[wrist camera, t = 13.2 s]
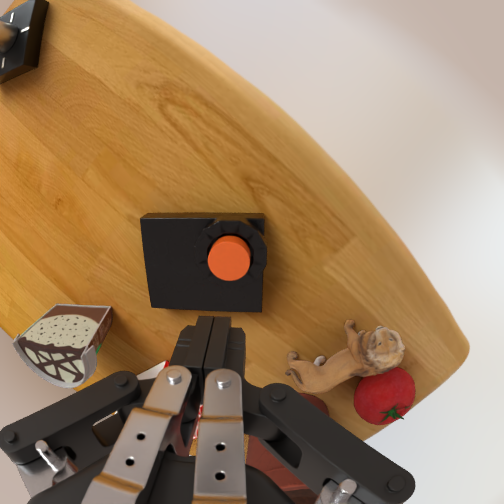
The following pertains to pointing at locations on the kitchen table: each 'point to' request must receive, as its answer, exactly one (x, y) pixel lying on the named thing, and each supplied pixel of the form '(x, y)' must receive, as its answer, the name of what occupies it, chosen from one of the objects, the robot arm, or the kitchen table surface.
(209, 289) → the black button box
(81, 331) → the food container
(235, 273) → the button
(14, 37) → the dial
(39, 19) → the dial panel
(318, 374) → the lion figurine
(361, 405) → the tomato
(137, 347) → the kitchen table surface
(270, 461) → the potted plant
